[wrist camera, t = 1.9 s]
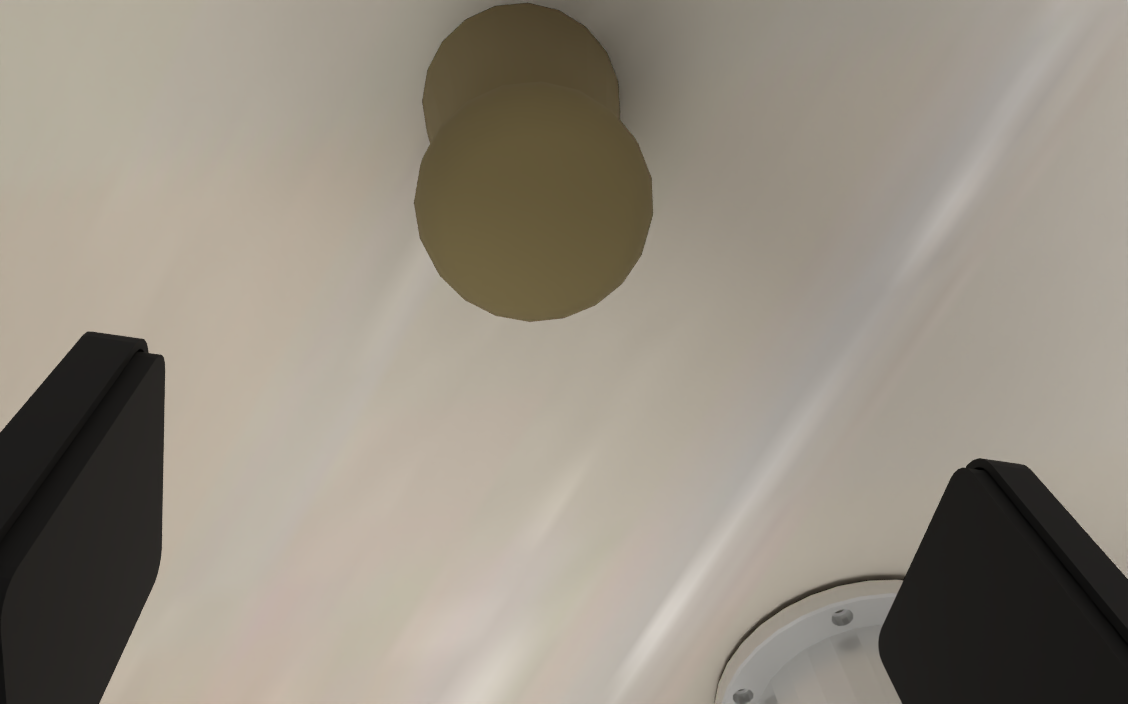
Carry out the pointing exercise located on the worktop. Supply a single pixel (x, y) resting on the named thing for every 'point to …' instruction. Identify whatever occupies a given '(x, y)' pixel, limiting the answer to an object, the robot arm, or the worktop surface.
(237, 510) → the worktop surface
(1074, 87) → the worktop surface
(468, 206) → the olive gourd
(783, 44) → the worktop surface
